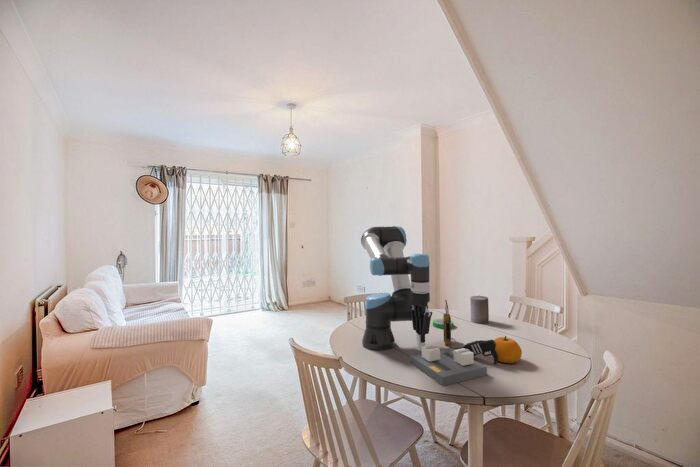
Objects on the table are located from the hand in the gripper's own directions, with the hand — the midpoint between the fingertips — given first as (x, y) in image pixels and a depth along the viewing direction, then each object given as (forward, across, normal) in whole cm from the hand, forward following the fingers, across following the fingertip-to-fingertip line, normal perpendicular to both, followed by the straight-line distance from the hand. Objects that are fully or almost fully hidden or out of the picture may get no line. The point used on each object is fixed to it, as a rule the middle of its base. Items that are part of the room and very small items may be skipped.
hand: (421, 349), depth 131 cm
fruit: (+5, +13, +32) cm, 35 cm away
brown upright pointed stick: (+5, -10, +26) cm, 28 cm away
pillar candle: (+4, -32, +62) cm, 69 cm away
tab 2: (+1, +14, +9) cm, 17 cm away
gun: (+5, +8, +22) cm, 24 cm away
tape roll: (+5, -34, +38) cm, 51 cm away
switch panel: (+5, +10, +5) cm, 12 cm away
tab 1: (+1, +6, 0) cm, 6 cm away
